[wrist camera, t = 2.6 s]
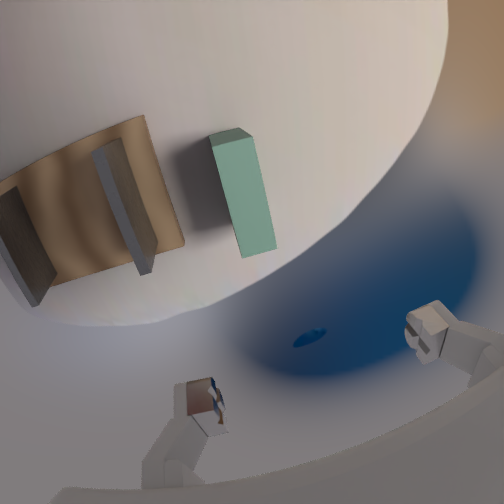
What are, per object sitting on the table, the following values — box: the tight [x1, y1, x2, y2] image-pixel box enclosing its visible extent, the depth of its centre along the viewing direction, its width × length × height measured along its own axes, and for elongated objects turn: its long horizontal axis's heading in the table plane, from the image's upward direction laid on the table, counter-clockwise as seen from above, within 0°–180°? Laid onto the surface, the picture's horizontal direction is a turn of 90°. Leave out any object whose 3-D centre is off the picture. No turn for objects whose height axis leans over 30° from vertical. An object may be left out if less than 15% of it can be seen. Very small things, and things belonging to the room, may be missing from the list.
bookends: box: [0, 137, 158, 307], centre depth 29 cm, size 16×13×7 cm
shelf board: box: [0, 115, 185, 287], centre depth 33 cm, size 22×16×2 cm
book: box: [209, 128, 278, 258], centre depth 31 cm, size 4×11×9 cm, turn 13°
